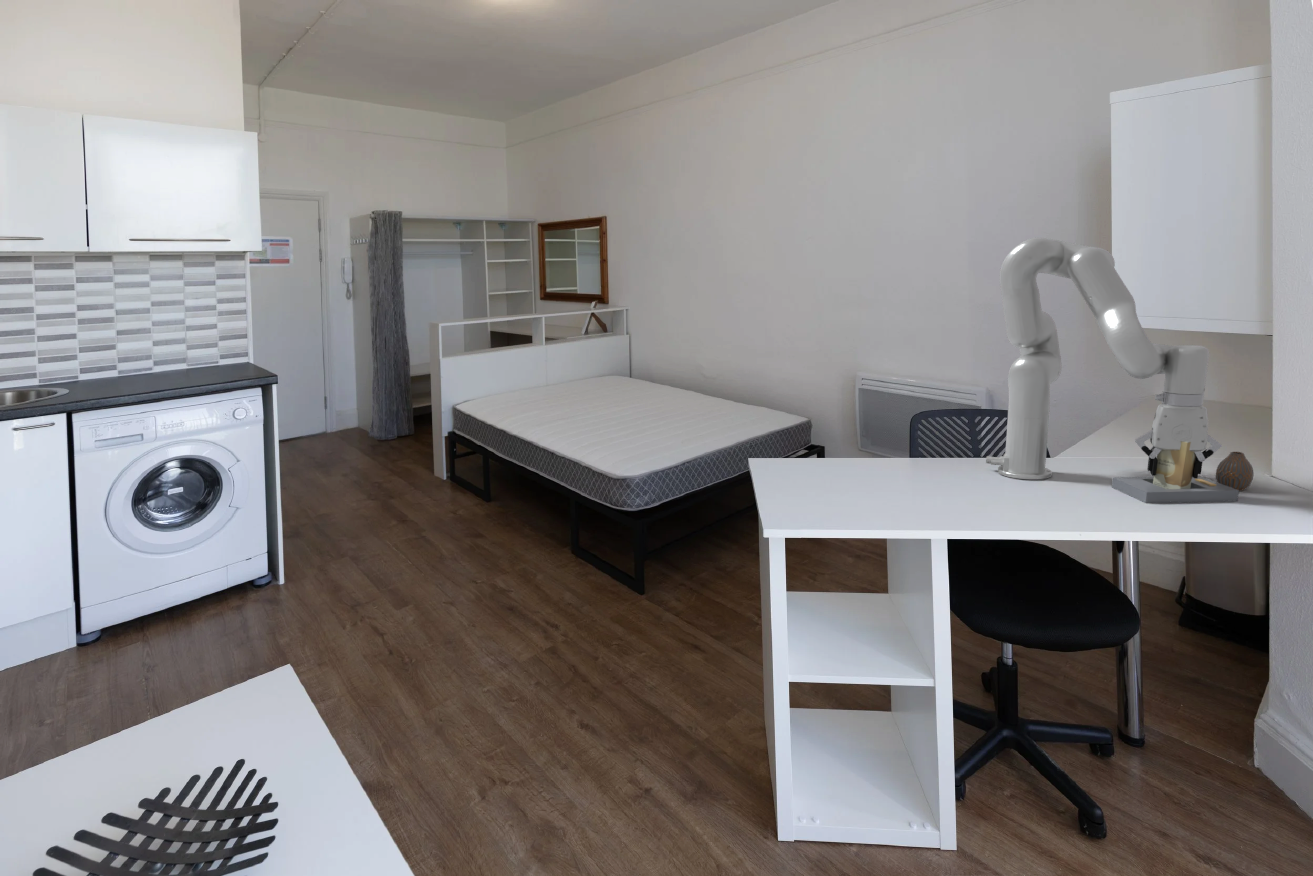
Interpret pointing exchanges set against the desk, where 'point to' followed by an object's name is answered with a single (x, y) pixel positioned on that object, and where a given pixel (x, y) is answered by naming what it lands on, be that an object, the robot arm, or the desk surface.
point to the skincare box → (1175, 467)
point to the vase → (1235, 471)
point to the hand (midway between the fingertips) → (1173, 475)
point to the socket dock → (1174, 490)
